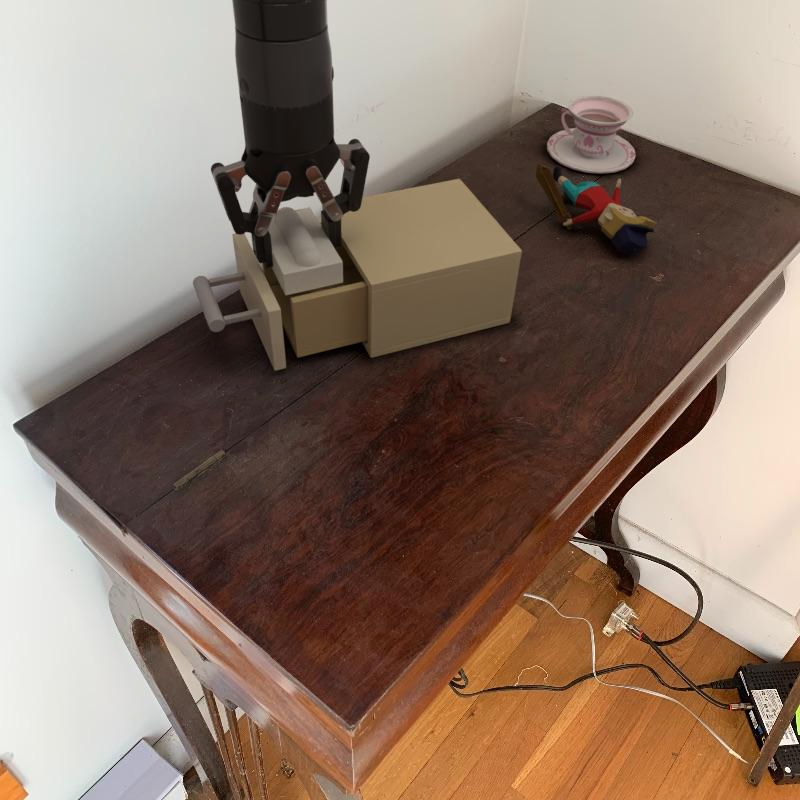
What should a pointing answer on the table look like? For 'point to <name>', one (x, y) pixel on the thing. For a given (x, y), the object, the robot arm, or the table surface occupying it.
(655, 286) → the table surface
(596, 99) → the teacup
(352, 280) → the drawer
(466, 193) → the cabinet
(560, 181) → the toy
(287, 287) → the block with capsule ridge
